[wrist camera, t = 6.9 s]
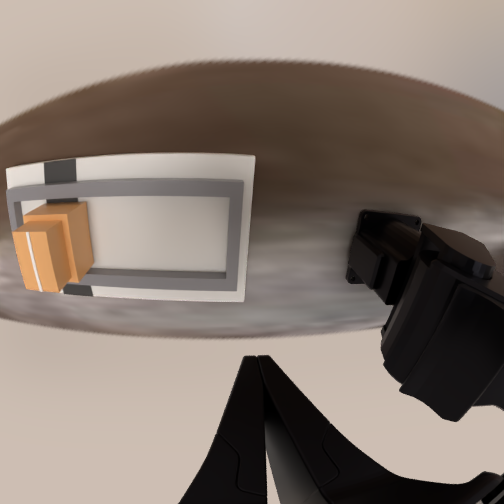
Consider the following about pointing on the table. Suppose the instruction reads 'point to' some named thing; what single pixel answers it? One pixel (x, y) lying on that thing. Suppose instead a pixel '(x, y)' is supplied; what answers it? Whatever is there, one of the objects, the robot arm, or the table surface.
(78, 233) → the fader knob
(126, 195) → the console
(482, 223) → the table surface
